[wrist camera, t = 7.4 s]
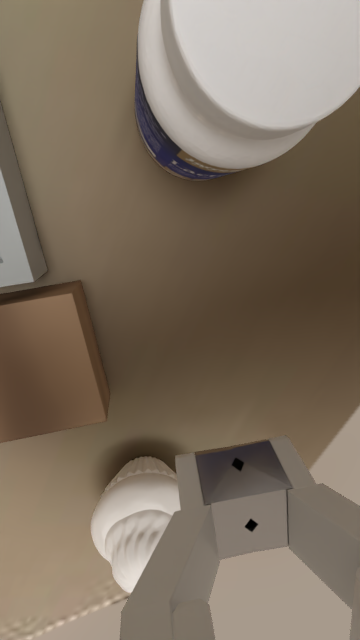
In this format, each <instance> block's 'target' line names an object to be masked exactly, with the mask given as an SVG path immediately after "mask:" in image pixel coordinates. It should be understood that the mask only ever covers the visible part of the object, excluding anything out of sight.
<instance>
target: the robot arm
mask: <svg viewBox="0 0 360 640" xmlns="http://www.w3.org/2000/svg"><path fill="white" fill-rule="evenodd" d="M175 464H176V473H177V482H178V491H179V500H180V509H181V510H179V511H175V512H174V514H173V516H172V518H171V519H170V521H169V523H168V525H167V527H166V529H165V531H164V533H163V534H162V536H161V538H160V540H159V542H158V544H157V546H156V548H155V550H154V551H153V553H152V555H151V557H150V559H149V561H148V563H147V565H146V566H145V568H144V570H143V572H142V574H141V576H140V578H139V580H138V582H137V583H136V585H135V587H134V589H133V591H132V593H131V595H130V597H129V598H128V600H127V602H126V604H125V606H124V608H123V610H122V612H121V628H120V640H215V635H214V629H213V624H212V618H211V612H210V606H209V604H208V601H209V598H210V594H211V591H212V587H213V584H214V580H215V577H216V574H217V570H218V567H219V563H220V561H219V560H221V559H225V558H230V557H234V556H238V555H243V554H247V553H252V552H256V551H263V550H269V549H275V548H281V547H287V546H289V549H290V550H291V551H293V553H294V554H295V555H296V556H297V557H298V558H299V559H301V560H302V561H303V562H304V563H305V564H306V565H307V566H308V567H309V568H310V569H311V570H312V571H313V572H314V573H315V574H316V575H317V576H318V577H319V578H320V579H321V580H322V581H323V582H324V583H325V584H326V585H327V586H328V587H329V588H330V589H331V590H332V591H333V592H334V593H335V594H336V595H338V597H339V598H340V599H342V601H344V602H345V603H346V604H347V605H348V606H349V607H350V608H351V609H352V620H351V630H350V640H360V506H359V505H357V504H355V503H354V502H352V501H350V500H349V499H347V498H346V497H344V496H342V495H341V494H339V493H338V492H336V491H334V490H333V489H331V488H329V487H328V486H326V485H324V484H316V483H315V481H314V479H313V478H312V476H311V474H310V472H309V471H308V469H307V467H306V466H305V464H304V462H303V461H302V459H301V457H300V456H299V454H298V452H297V451H296V449H295V447H294V446H293V444H292V442H291V441H290V439H289V437H287V436H286V435H285V436H279V437H274V438H269V439H267V440H266V439H265V440H260V441H255V442H250V443H244V444H239V445H234V446H230V447H223V448H217V449H211V450H204V451H198V452H195V454H194V453H188V454H182V455H175Z"/></svg>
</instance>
